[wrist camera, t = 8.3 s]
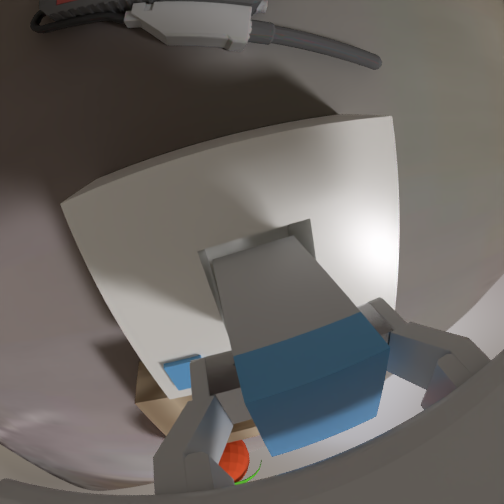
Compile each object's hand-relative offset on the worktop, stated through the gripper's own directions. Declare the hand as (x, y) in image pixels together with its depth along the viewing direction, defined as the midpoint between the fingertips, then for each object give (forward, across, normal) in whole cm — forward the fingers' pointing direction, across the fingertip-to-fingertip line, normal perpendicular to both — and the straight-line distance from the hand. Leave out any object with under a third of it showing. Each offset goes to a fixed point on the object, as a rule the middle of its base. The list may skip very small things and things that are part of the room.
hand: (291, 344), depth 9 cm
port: (+9, 0, 0) cm, 9 cm away
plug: (+4, 0, 0) cm, 4 cm away
